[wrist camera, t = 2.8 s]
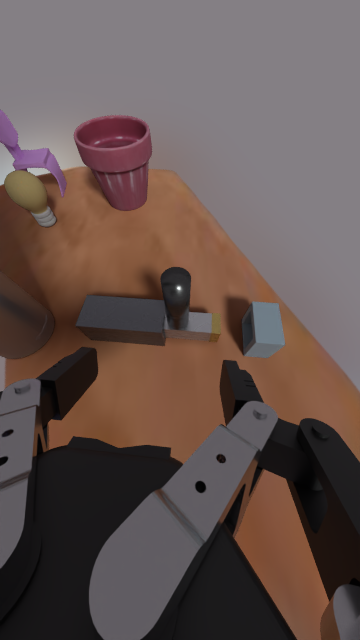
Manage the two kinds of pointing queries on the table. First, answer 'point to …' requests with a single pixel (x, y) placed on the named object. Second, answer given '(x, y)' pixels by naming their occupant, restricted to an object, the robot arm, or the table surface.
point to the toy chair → (29, 153)
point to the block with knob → (185, 310)
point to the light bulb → (30, 195)
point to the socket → (262, 330)
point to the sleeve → (123, 320)
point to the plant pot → (117, 157)
